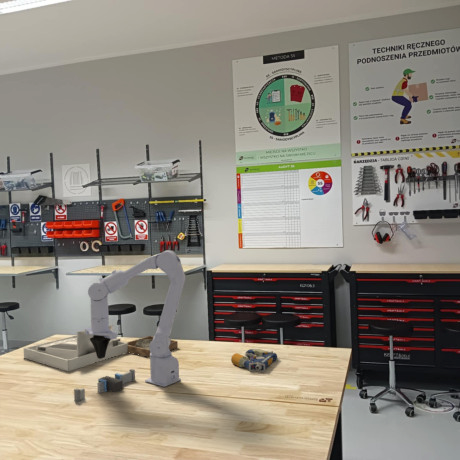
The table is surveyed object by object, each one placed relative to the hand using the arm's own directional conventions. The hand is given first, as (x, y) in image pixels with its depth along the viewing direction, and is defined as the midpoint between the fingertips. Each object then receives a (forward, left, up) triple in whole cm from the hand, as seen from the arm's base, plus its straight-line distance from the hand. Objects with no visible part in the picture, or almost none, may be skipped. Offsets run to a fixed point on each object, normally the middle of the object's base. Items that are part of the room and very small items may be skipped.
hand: (101, 357), depth 152 cm
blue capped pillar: (-6, +3, -9) cm, 11 cm away
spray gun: (-31, -45, -9) cm, 55 cm away
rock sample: (+14, -34, -9) cm, 38 cm away
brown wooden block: (+17, -37, -9) cm, 41 cm away
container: (+35, -15, -8) cm, 39 cm away
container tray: (+37, -15, -9) cm, 40 cm away
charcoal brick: (-7, +2, -9) cm, 11 cm away
